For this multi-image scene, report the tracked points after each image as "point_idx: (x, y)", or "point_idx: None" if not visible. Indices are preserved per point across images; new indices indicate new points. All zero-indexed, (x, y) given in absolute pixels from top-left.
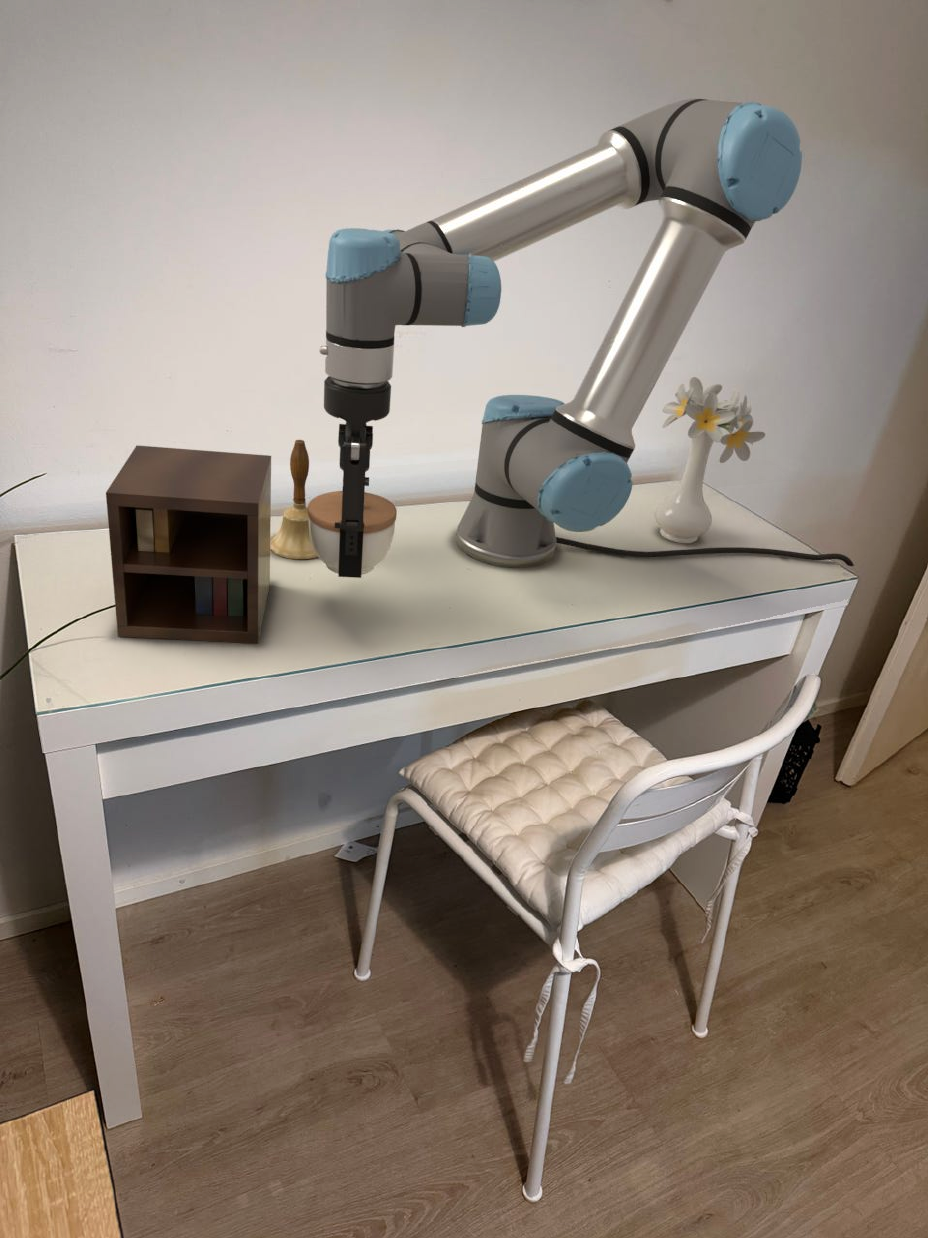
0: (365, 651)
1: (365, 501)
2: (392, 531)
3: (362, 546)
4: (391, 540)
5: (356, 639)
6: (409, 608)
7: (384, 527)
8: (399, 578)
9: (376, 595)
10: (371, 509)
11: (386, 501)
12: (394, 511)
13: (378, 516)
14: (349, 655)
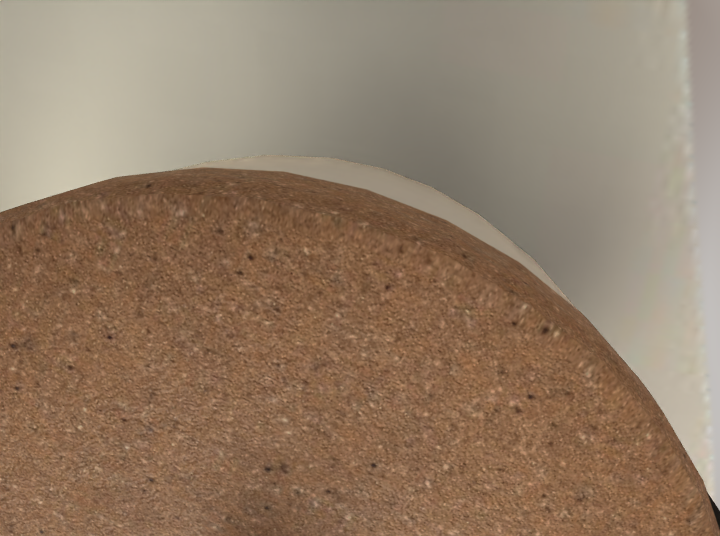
0: (651, 241)
1: (87, 519)
2: (461, 216)
3: (717, 511)
4: (448, 197)
5: (565, 258)
6: (357, 18)
7: (643, 384)
8: (114, 20)
9: (257, 138)
10: (307, 511)
11: (25, 287)
12: (343, 241)
13: (520, 480)
14: (665, 297)
